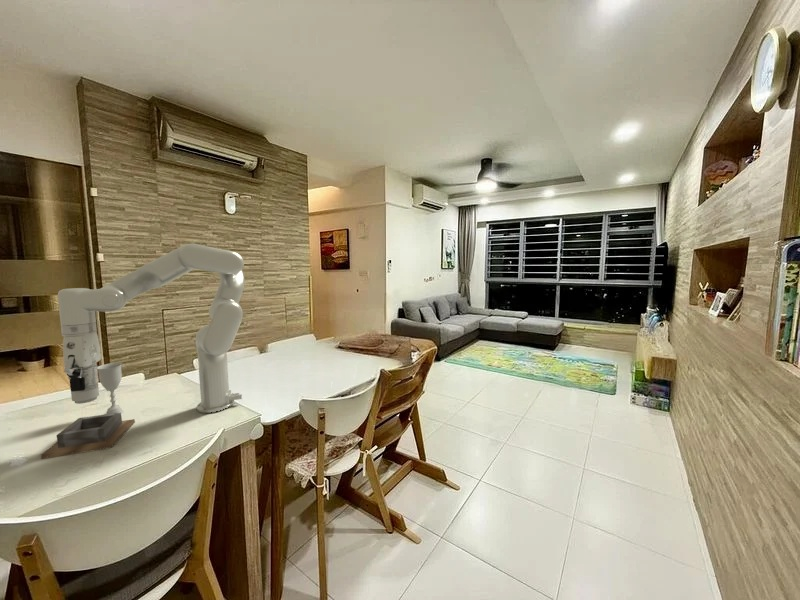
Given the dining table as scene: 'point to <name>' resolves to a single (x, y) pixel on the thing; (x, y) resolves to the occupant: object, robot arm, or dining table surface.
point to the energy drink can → (87, 385)
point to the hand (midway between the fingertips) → (84, 386)
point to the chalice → (111, 382)
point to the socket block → (89, 435)
